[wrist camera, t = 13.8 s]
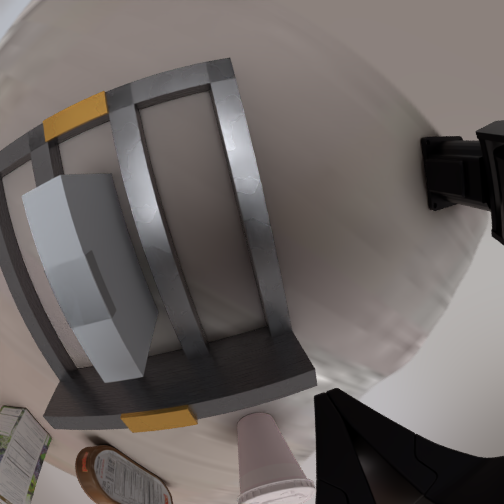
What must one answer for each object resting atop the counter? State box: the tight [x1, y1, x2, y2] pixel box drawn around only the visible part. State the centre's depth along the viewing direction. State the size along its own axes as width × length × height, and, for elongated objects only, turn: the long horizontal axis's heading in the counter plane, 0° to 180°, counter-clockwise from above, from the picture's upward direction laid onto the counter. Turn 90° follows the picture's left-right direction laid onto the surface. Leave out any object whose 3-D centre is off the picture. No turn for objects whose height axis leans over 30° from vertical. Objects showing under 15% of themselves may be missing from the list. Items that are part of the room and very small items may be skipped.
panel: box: [22, 174, 158, 383], centre depth 13 cm, size 2×10×7 cm, turn 13°
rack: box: [0, 58, 317, 433], centre depth 13 cm, size 20×20×6 cm
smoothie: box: [237, 413, 316, 504], centre depth 17 cm, size 6×6×14 cm
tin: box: [75, 445, 173, 504], centre depth 19 cm, size 15×3×8 cm, turn 24°
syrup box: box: [0, 406, 51, 504], centre depth 12 cm, size 6×6×14 cm
